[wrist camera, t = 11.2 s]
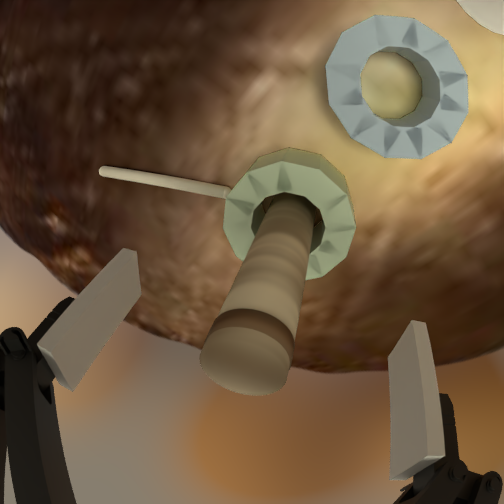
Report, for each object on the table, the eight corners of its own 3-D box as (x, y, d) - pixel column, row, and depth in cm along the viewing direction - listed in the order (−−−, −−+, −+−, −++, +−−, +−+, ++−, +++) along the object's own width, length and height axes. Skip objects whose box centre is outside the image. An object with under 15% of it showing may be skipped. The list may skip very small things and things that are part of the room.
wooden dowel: (275, 179, 24) (198, 328, 11) (321, 189, 24) (298, 355, 11) (268, 219, 26) (198, 381, 13) (311, 230, 26) (278, 403, 12)
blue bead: (319, 25, 17) (318, 14, 14) (442, 32, 15) (462, 25, 12) (331, 144, 22) (332, 157, 18) (446, 148, 19) (466, 162, 16)
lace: (102, 163, 27) (96, 167, 26) (233, 186, 25) (230, 190, 24) (103, 173, 27) (97, 177, 26) (232, 197, 26) (229, 201, 25)
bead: (245, 139, 23) (230, 151, 20) (363, 165, 22) (370, 182, 19) (232, 240, 28) (219, 265, 25) (334, 264, 27) (333, 292, 24)
